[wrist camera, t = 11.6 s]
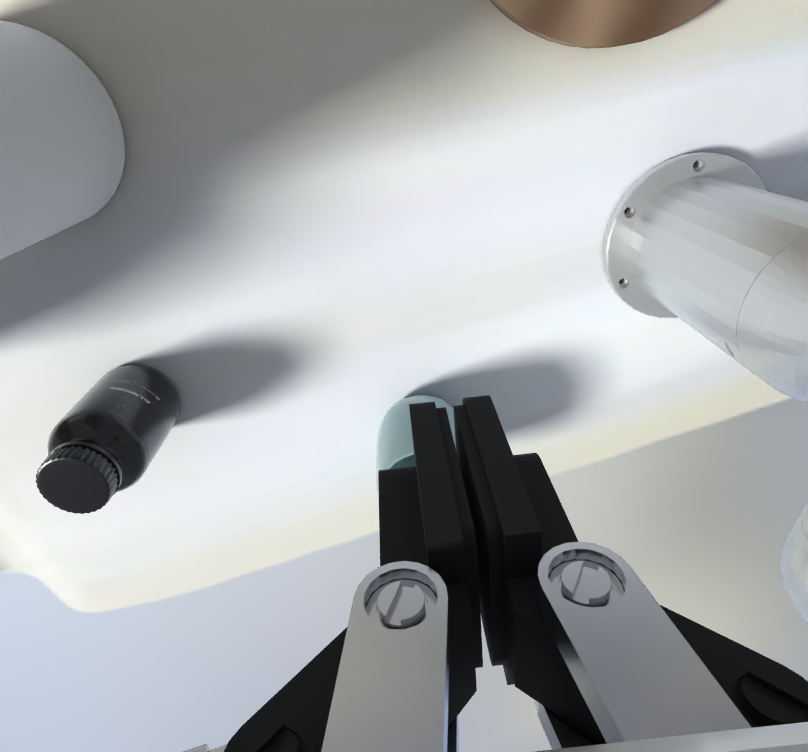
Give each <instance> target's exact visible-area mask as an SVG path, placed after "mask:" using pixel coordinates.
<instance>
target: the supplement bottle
mask: <svg viewBox="0 0 808 752" xmlns="http://www.w3.org/2000/svg"><path fill="white" fill-rule="evenodd" d="M179 411H180V401H179V397H178V394H177V392H176V390H175V388H174V386H173V385H172V384H171V383H170V381H169V380H168V379H167V378H165V377H164V376H163V375H161V374H160V373H158V372H157V371H155V370H152V369H150V368H147V367H143V366H137V365H127V366H121V367H118V368H115V369H113V370H111V371H110V372H108V373H107V374H106V375H104V376H103V377H102V378H101V379H100V380H99V381H98V382H97V383H96V384H95V385H94V386H93V388H92V389H91V390H90V391H89V392H88V393H87V394H86V395H85V396H84V397H83V398H82V399H81V400H80V401H79V402H78V403H77V404H76V405H75V406H74V407H73V408H72V409H71V410H70V411H69V412H68V413H67V414H66V416H65V417H64V418H63V419H62V420H61V421H60V422H59V423H58V424H57V425H56V426H55V428H54V429H53V431H52V432H51V434H50V437H49V441H48V457H47V459H46V460H45V461H44V462H43V463H42V464H41V466H40V468H39V469H38V471H37V472H38V473H37V475H36V478H37V480H36V483H37V487H38V489H39V491H40V493H41V494H42V495H43V497H44V498H45V499H47V501H48V502H49V503H51V504H53V505H54V506H55V507H58V508H60V509H61V510H65V511H67V512H73V513H81V514H84V513H90V512H95V511H96V510H97V509H101V508H102V507H103V506H105V505H106V504H107V502H108V501H109V500H110V498H111V497H112V496H113V495H114V494H115V493H116V492H119V491H122V490H124V489H127V488H129V487H130V486H132V485H133V484H135V483H136V482H137V481H138V480H139V479H140V478H141V477H142V475H143V474H144V472H145V471H146V469H147V468H148V466H149V464H150V463H151V461H152V460H153V458H154V456H155V455H156V453H157V451H158V450H159V448H160V447H161V445H162V443H163V442H164V440H165V438H166V437H167V435H168V434H169V432H170V430H171V429H172V427H173V425H174V423H175V422H176V420H177V418H178V415H179Z"/></svg>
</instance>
